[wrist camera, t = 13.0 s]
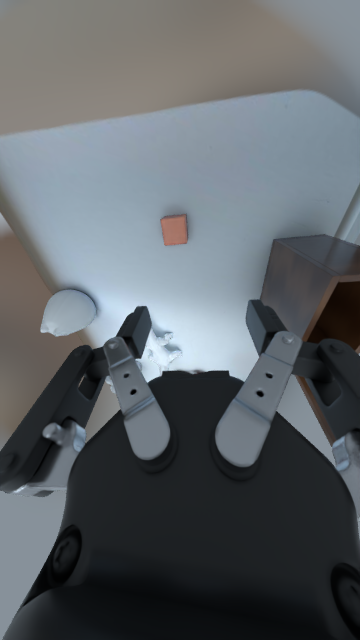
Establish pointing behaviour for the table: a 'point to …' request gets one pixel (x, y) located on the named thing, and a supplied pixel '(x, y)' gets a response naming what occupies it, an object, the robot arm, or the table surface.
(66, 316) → the white rounded teardrop
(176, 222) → the block
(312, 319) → the chest
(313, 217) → the table surface
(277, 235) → the table surface
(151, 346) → the dinosaur
